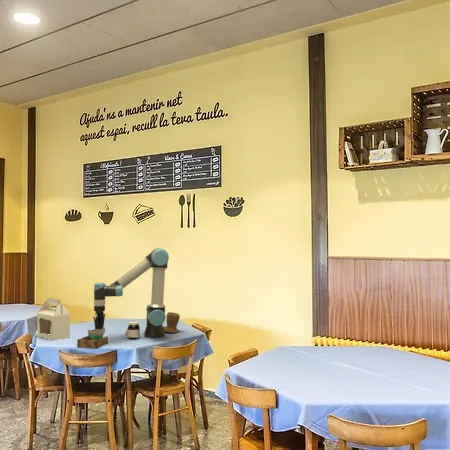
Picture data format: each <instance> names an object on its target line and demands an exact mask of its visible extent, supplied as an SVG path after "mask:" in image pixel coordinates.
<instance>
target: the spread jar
mask: <svg viewBox="0 0 450 450" xmlns="http://www.w3.org/2000/svg"><path fill="white" fill-rule="evenodd" d="M140 335H141V327H140V325H139V321H135V320H134V321H129V322H128V326H127V328H126V329H125V331H124V336H125V337H126V338H127V339H128V340H131V339H134V340H138V339H139V338H140Z"/></svg>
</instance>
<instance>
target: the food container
mask: <svg viewBox="0 0 450 450" xmlns="http://www.w3.org/2000/svg"><path fill="white" fill-rule="evenodd" d="M105 333H106V328H105V327H103V328H102V329H95V328H94V329H90V328H88V329H87V334H88V335H87V336H88V340H95V341H96V340H99V339H101V338H104V335H105Z"/></svg>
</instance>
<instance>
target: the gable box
mask: <svg viewBox="0 0 450 450" xmlns="http://www.w3.org/2000/svg"><path fill="white" fill-rule="evenodd" d="M53 306H57V307H56V309H55V310H54V308H53ZM36 317H37V321H36V322H37V325H36V326H37V337H38V338H41V337H43V338H42V339H44V338H47V339H46V340H48V339H51V340H50V341H52V340H56V341H58V340H57V339H61V340H65V338H67V339H70V338H71V337H70V336H71V314H70V312H69V310H67V308H66V307H65V305H64V304H63V303H61V299H58V298H53V297H47V299H45V302H44V303H43V304H42V306H41V307H40V309H39V310H38V312H37V316H36ZM48 334H50V335H48Z"/></svg>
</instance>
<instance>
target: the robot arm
mask: <svg viewBox="0 0 450 450" xmlns="http://www.w3.org/2000/svg"><path fill="white" fill-rule="evenodd" d="M169 256H170V255H169V253H168V251H166V250H165V249H164V248H159V247H157V248H154V249H153V250H152V251H151V252H150V253H149V254H148V255H146V256H145V257H144V259H143V260H142V261H141V262H139V263H138V264H137V265H135V266H134V267H133V268H131V269H130V270H129V271H127V272H126V273H125V274H123V275H122V276H120V277H119V278H118V279H117V280H116V281H114V282H113V283H110V285H106V283H105V282H95V283H94V285H93V286H94V287H93V305H94V306H93V311H94V312H95V315H94V316H93V322H94V329H102V328H105V319H106V318H105V317H106V313H104V312H105V311H106V306H105V305H106V297H117V298H118V297H122V296H123V294H124V293H123V292H124V288H126V287H127V286H128V285H130V284H131V283H133V282H134V281H135V280H137V279H138V278H140V276H142V275H143V274H144V273H146V272H147V271H149V270H150V269H152V280H151V298H150V300H151V301H150V304H148V305H146V309H145V310H146V327H145V330H144V333H143V336H144V337H145V338H147V337H150V338H151V339H155V337H159V338H163V336H164V337H165V335H166V332H165V331H164V328H163V327H164V325H163V324H164V323H165V321H166V316H167V315H166V305H165V304H164V295H165V281H166V280H165V278H166V277H165V276H166V270H168V264H169V263H168V262H169V258H170V257H169ZM150 338H149V339H150Z"/></svg>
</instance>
